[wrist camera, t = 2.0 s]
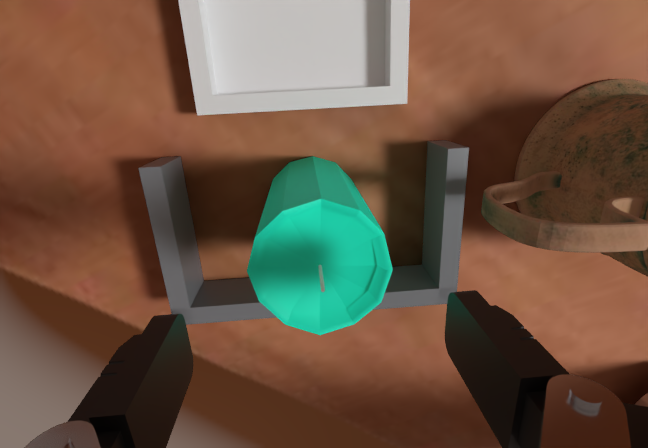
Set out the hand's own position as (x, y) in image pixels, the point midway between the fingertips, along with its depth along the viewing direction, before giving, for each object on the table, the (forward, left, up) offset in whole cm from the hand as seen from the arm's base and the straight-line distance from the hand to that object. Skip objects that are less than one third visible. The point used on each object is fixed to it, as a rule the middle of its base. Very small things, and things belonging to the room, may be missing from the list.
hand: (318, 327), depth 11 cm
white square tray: (0, -12, -14) cm, 19 cm away
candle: (0, 0, -15) cm, 15 cm away
